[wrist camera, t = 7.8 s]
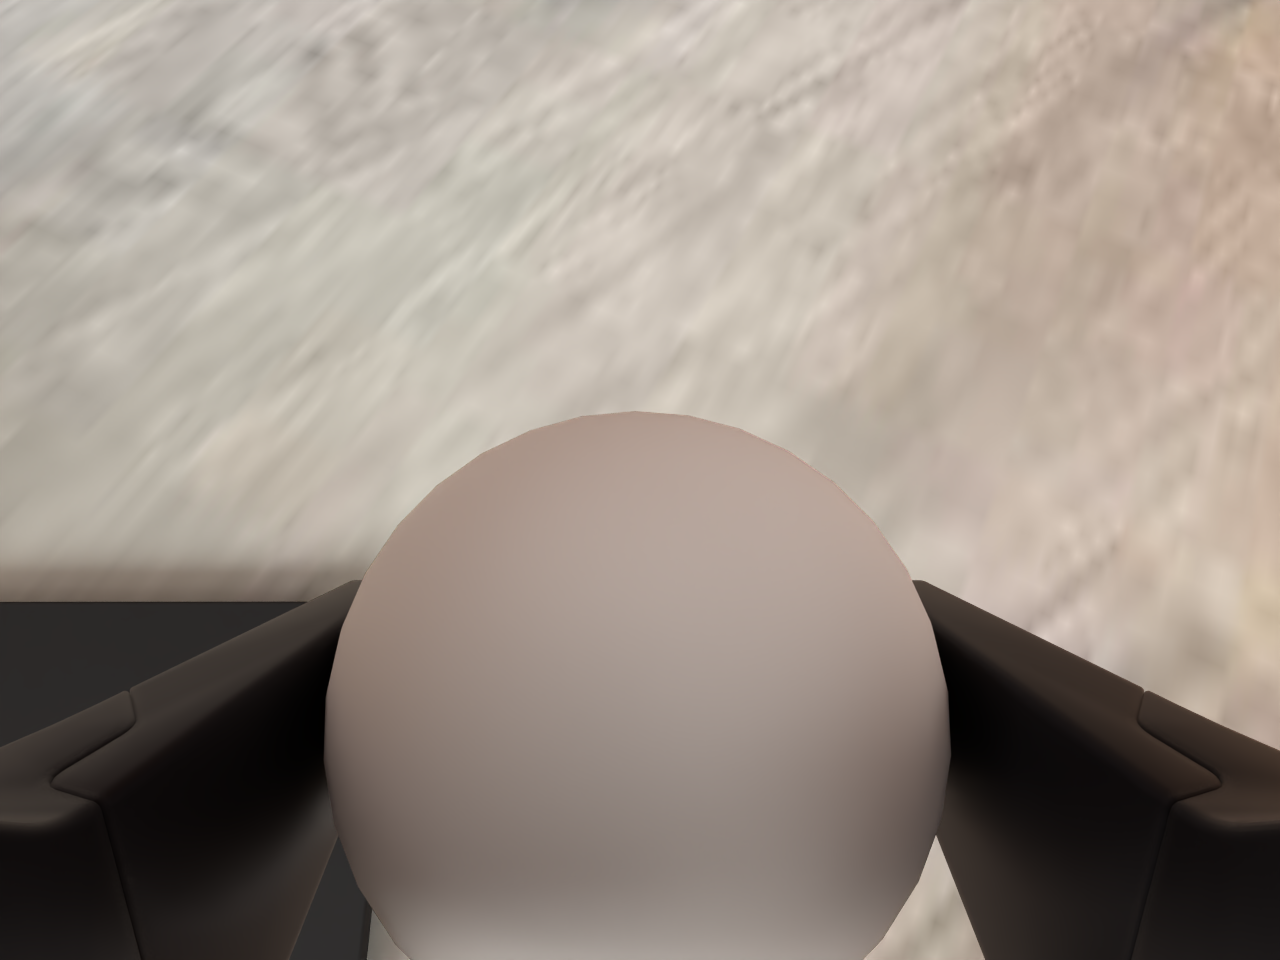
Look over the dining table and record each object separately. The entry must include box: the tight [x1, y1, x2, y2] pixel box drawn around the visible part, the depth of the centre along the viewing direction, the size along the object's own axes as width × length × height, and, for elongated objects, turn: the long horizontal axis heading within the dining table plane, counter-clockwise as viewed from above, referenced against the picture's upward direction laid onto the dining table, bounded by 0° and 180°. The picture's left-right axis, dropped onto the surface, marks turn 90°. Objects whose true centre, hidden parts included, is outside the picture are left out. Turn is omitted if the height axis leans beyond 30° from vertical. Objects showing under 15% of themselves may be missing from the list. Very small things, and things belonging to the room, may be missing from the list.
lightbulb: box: [324, 411, 951, 960], centre depth 12 cm, size 6×6×11 cm
